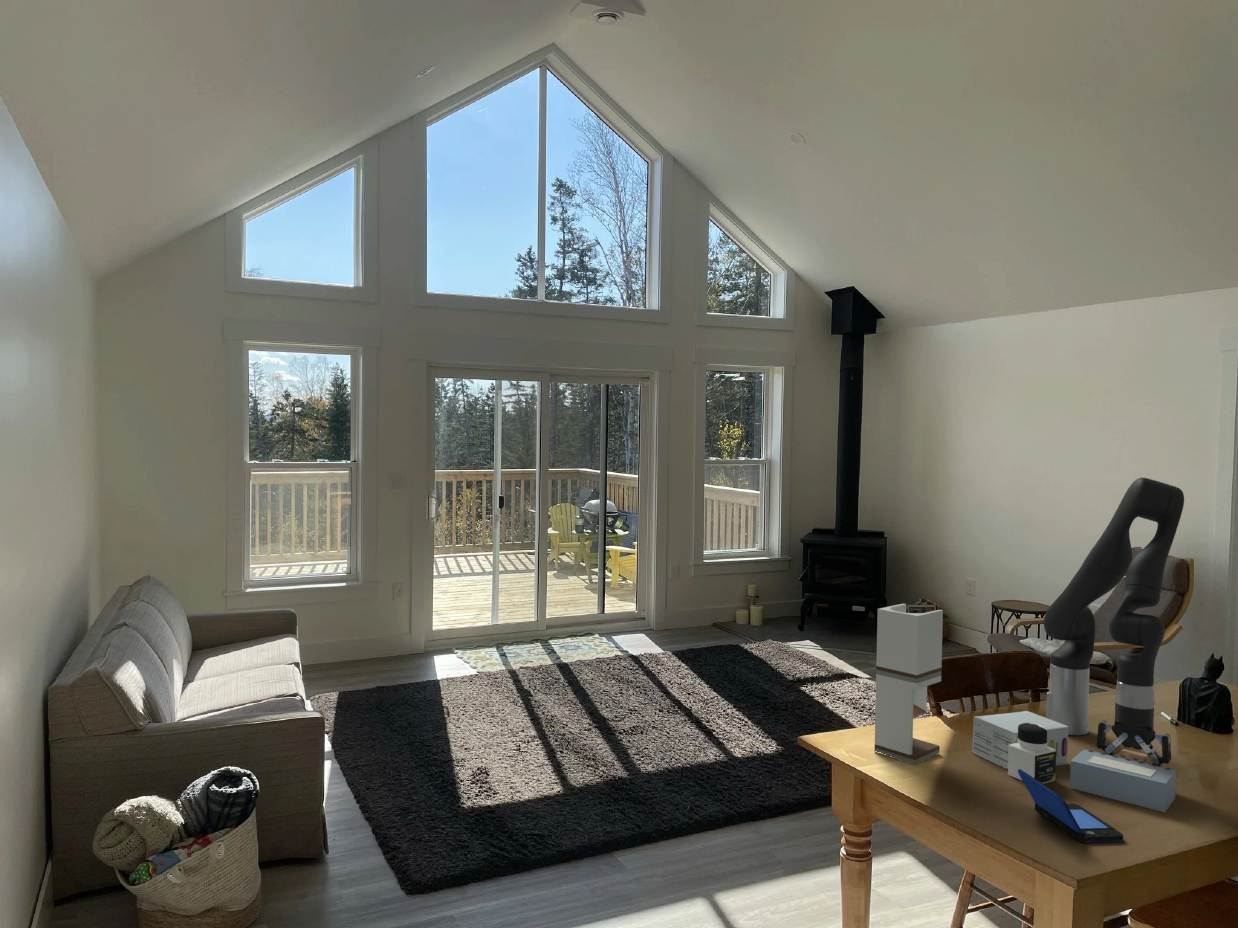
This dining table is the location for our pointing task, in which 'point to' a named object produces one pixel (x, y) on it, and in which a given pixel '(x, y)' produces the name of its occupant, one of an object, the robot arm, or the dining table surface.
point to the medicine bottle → (1032, 754)
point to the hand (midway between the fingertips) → (1132, 774)
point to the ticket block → (1123, 780)
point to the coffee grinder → (905, 679)
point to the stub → (1133, 756)
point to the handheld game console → (1069, 814)
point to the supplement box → (1014, 735)
